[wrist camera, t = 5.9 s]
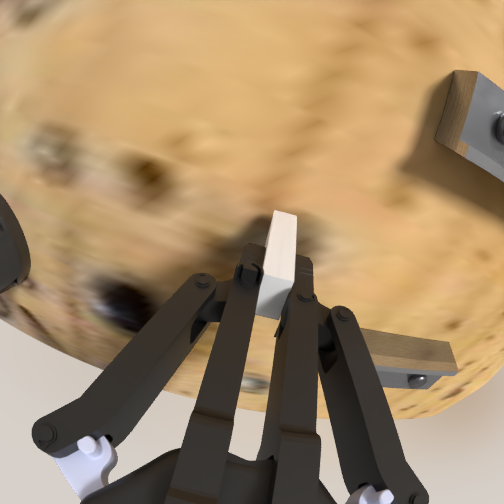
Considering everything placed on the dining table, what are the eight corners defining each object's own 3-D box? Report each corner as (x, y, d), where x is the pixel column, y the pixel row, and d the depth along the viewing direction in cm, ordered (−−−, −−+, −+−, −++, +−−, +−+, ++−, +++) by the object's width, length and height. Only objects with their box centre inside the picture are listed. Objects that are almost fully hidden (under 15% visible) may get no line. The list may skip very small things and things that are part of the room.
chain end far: (322, 357, 29) (323, 390, 25) (344, 324, 25) (347, 361, 22) (422, 369, 28) (429, 397, 25) (448, 342, 25) (458, 371, 22)
